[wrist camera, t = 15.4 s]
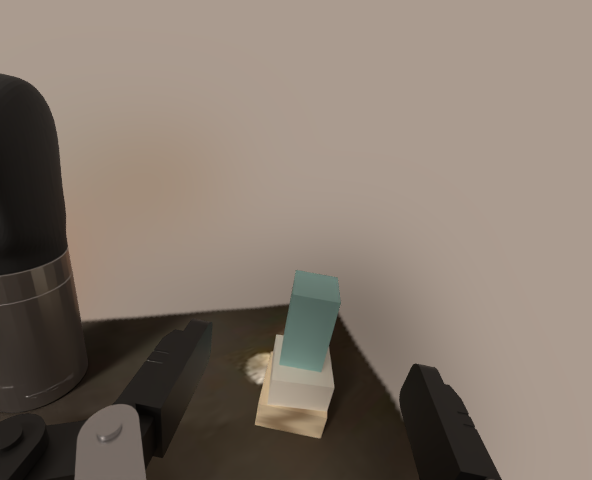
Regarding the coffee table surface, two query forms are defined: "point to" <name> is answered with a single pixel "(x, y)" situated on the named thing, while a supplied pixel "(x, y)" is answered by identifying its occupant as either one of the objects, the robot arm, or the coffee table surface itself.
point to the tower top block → (299, 384)
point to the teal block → (310, 321)
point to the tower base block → (288, 414)
